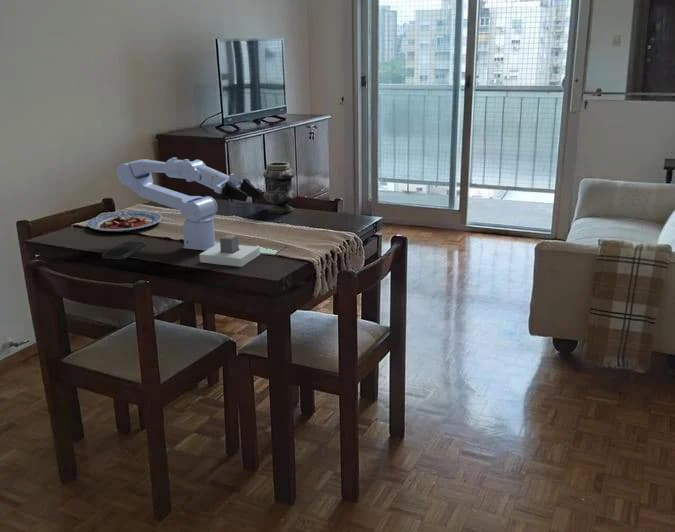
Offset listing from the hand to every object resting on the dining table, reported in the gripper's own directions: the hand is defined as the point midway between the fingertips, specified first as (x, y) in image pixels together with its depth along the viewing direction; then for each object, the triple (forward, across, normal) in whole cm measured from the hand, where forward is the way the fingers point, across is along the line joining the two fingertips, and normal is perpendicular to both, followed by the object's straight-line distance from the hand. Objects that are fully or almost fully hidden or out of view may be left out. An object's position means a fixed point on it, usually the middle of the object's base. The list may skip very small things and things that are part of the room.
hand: (253, 197), depth 209 cm
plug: (0, -4, +20) cm, 20 cm away
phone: (-34, -11, +31) cm, 47 cm away
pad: (+5, +8, +17) cm, 19 cm away
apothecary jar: (-17, +53, +18) cm, 58 cm away
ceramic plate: (-55, +13, +34) cm, 66 cm away
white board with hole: (0, -4, +20) cm, 20 cm away
